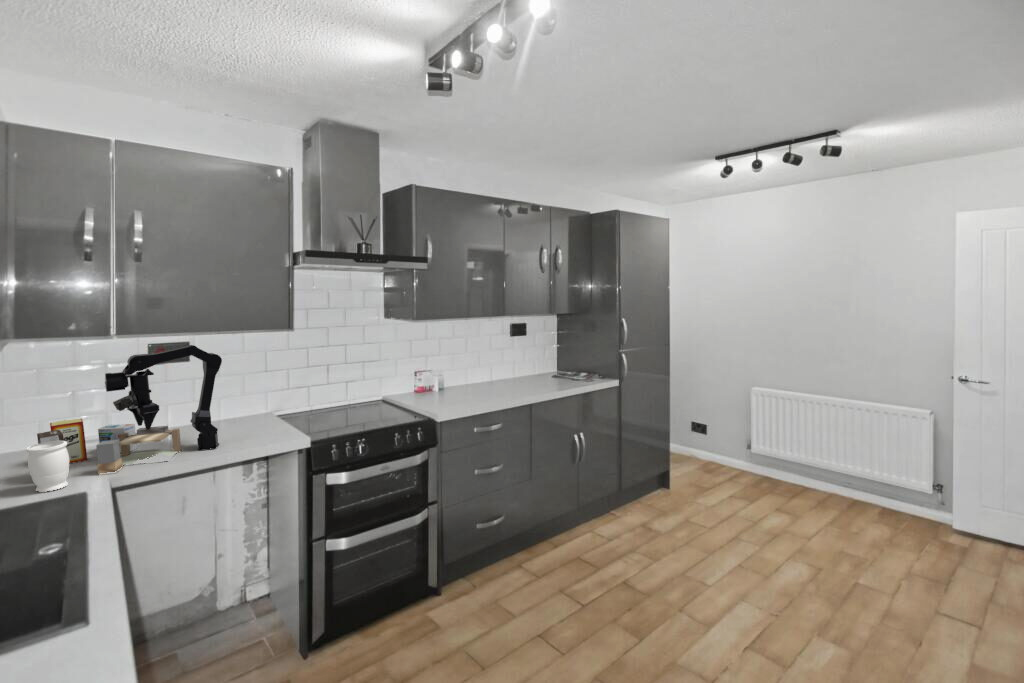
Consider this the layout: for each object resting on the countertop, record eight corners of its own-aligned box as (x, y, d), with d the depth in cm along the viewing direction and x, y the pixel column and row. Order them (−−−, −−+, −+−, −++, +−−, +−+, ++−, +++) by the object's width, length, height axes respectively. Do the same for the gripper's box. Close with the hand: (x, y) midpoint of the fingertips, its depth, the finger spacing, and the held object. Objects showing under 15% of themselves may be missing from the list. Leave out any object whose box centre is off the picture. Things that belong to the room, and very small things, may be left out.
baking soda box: (86, 456, 209) (81, 417, 207) (87, 460, 204) (82, 420, 202) (54, 462, 202) (49, 422, 200) (55, 466, 197) (50, 425, 196)
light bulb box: (99, 454, 211) (96, 428, 209) (111, 449, 217) (109, 424, 216) (126, 453, 211) (124, 427, 210) (138, 448, 218) (135, 423, 216)
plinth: (122, 468, 193) (121, 457, 193) (115, 473, 188) (114, 462, 188) (105, 470, 192) (104, 459, 192) (98, 475, 187) (97, 464, 186)
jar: (73, 487, 175) (68, 444, 174) (32, 497, 168) (26, 452, 167) (70, 479, 183) (65, 438, 181) (31, 488, 176) (25, 445, 174)
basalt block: (120, 458, 193) (118, 439, 192) (115, 462, 188) (112, 443, 187) (104, 459, 191) (102, 441, 191) (98, 464, 187) (96, 445, 186)
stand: (182, 449, 214) (180, 427, 213) (169, 461, 200) (166, 437, 199) (126, 455, 209) (123, 432, 208) (108, 467, 195) (105, 443, 194)
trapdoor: (174, 431, 214) (173, 425, 214) (160, 442, 200) (159, 434, 200) (134, 435, 211) (134, 428, 210) (118, 445, 197) (117, 438, 197)
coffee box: (69, 477, 185) (63, 433, 183) (45, 483, 180) (39, 437, 179) (64, 471, 191) (59, 429, 189) (41, 476, 187) (35, 433, 185)
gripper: (106, 388, 199) (111, 428, 200) (122, 394, 187) (126, 436, 189) (141, 383, 207) (145, 422, 209) (157, 389, 196) (161, 429, 197)
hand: (144, 427), depth 201 cm, fingers open, 9 cm apart
